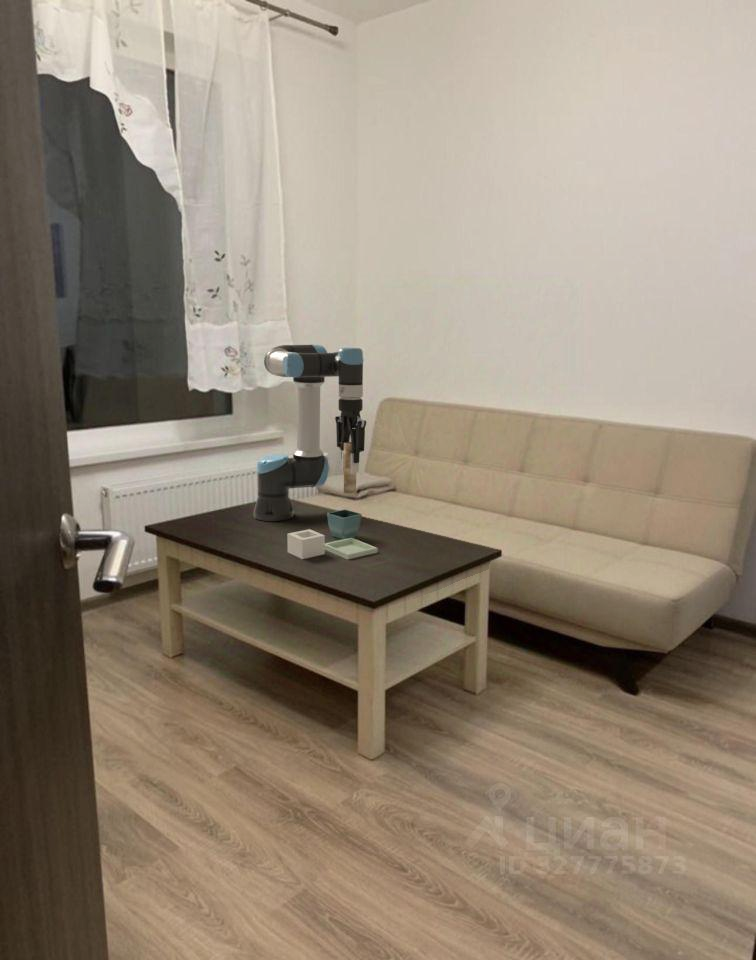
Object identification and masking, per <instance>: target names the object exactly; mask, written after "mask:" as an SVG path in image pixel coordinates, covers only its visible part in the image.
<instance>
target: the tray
mask: <svg viewBox="0 0 756 960" xmlns="http://www.w3.org/2000/svg"><path fill="white" fill-rule="evenodd" d="M325 551H326V552H329V553H332V554H334V555H335V556H338V557H341V558H344V559H346V560H351V559H356V558H360V557H363V556H368V555H372V554H373V555H374V554H377V553H378V547H376V546H373V545H371V544H369V543H366V542H363V541H361V540H359V539H356V538H355V537H354V538H348V539H339V540H333V541H330V542H325Z"/></svg>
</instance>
